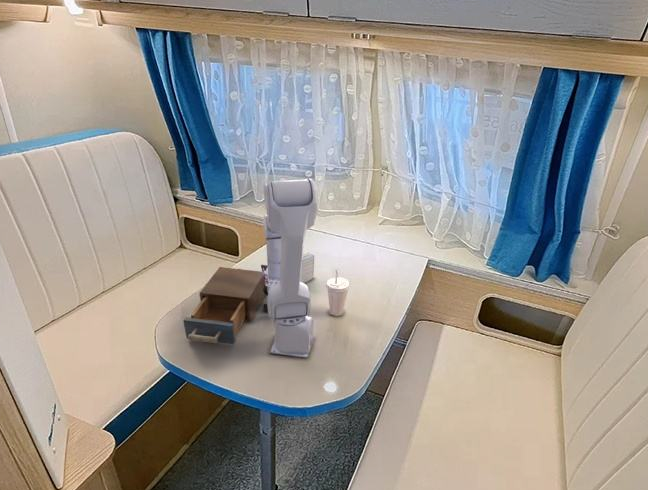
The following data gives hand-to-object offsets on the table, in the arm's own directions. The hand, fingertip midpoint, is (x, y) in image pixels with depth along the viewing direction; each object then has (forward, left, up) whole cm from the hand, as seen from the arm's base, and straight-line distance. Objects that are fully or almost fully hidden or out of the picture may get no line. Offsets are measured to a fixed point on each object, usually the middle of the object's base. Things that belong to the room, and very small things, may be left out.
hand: (279, 301), depth 121 cm
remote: (0, 0, -3) cm, 3 cm away
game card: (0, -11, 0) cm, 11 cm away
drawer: (+13, +14, -2) cm, 19 cm away
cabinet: (+13, 0, -3) cm, 13 cm away
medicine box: (-2, -17, -3) cm, 18 cm away
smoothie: (-16, -2, -3) cm, 16 cm away
